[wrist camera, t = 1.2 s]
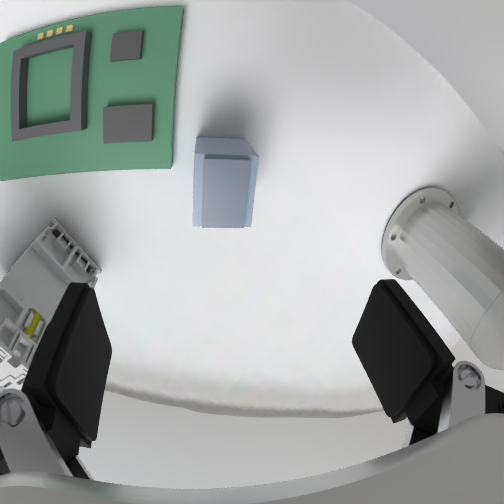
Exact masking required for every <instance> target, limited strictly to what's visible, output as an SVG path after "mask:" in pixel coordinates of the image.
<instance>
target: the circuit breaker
mask: <svg viewBox="0 0 504 504" xmlns="http://www.w3.org/2000/svg"><path fill="white" fill-rule="evenodd" d="M52 223H53V224H54V225H53V226H52V227H50V226H47V227H46V228H45V229H44V230H43V231H42V232H41V234H40V235H39V236H38V237H37V238H36V239H35V240H34V241H33V242H32V243H31V245H30V246H29V247H28V248H27V249H26V250H25V251H24V253H23V254H22V255H21V256H20V257H19V258H18V260H17V261H16V262H15V264H14V265H13V266H12V267H11V269H10V270H9V271H8V273H7V274H6V276H5V277H4V278H3V279H2V281H1V282H0V392H1V391H3V390H5V389H9V388H15V389H18V390H20V391H21V388H22V385H23V383H24V380H25V377H26V374H27V372H28V369H29V366H30V364H31V361H32V359H33V356H34V354H35V352H36V349H37V347H38V344H39V342H40V340H41V338H42V335H43V333H44V331H45V329H46V327H47V325H48V323H50V321H51V319H52V317H53V315H54V313H55V311H56V309H57V307H58V305H59V303H60V301H61V299H62V297H63V295H64V293H65V291H66V289H67V287H68V285H69V284H70V283H71V282H79V283H88V285H89V287H90V288H93V289H94V287H95V285H96V282H97V280H98V278H97V277H96V274H97V273H98V274H99V273H100V272H101V269H100V268H99V267H98V266H97V265H96V264H95V263H94V262H93V261H92V259H91V258H90V257H89V256H88V255H87V254H86V253H85V252H84V251H83V250H82V249H81V247H80V246H79V245H78V244H77V243H76V242H75V241H74V240H73V238H72V237H71V236H70V235H69V234H68V233H67V232H66V230H65V229H64V228H63V227H62V226H61V224H60V223H59V222H58V221H57V220H56V218H55V219H54V220H53V221H52ZM56 229H58V230H59V231H60V232H61V233H60V235H59V236H58V237H57V238H56V237H55V236H54V235H53V233H52V232H53V231H54V230H56ZM63 235H64V236H65V237H66V238H67V240H68V241H69V243H68V242H67V241H66V240H65V239H64V238H63V237H62V236H63ZM70 244H71V245H72V246H73V248H71V247H70V246H69V245H70ZM76 251H77V252H78V253H79V254H78V255H77V254H76V253H75V252H76ZM81 256H83V257H84V258H85V260H86V261H87V263H86V262H85V261H84V260H83V259H82V258H81ZM89 265H90V266H91V267H92V268H91V269H90V270H89V271H88V272H87V271H86V269H87V268H88V266H89Z"/></svg>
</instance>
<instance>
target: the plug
mask: <svg viewBox="0 0 504 504" xmlns="http://www.w3.org/2000/svg"><path fill="white" fill-rule="evenodd" d="M258 157H259V156H258V155H257V154H256V152H255V151H254V150H253V149H252V148H251V147H250V145H249V144H248V143H247V142H246V141H245V140H244V139H238V138H216V137H197V138H196V146H195V156H194V185H193V226H202V228H244V227H251V222H252V213H253V203H254V194H255V185H256V175H257V166H258Z"/></svg>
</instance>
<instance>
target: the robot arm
mask: <svg viewBox="0 0 504 504" xmlns="http://www.w3.org/2000/svg"><path fill="white" fill-rule="evenodd" d="M382 257H383V261H384V264H385V266H386V267H387V269H388V270H389V271H390V273H391V274H392V275H393V276H395V277H397V278H399V279H402V280H413V279H414V281H415V282H416V283H417V284H418V285H419V286H420V287H421V288H422V290H423V291H424V292H425V293H426V294H427V295H428V296H429V298H430V299H431V300H432V301H433V302H434V304H435V305H436V306H437V307H438V308H439V310H440V311H441V312H442V313H443V314H444V316H445V317H446V318H447V319H448V320H449V322H450V323H451V324H452V325H453V327H454V328H455V329H456V331H457V332H458V333H459V334H460V336H461V337H462V338H463V340H464V341H465V342H466V343H467V344H468V346H469V347H470V348H471V350H472V351H473V352H474V354H475V355H476V356H477V358H478V359H479V360H480V361H481V362H482V363H483V364H485V365H486V366H488V367H490V368H493V369H498V370H504V249H503V248H502V247H500V246H499V245H498V244H497V243H495V242H494V241H493V240H492V239H490V238H489V237H488V236H486V235H485V234H484V233H482V232H481V231H480V230H478V229H477V228H476V227H474V226H473V225H472V224H470V223H469V222H468V221H466V220H465V219H463V218H462V217H461V216H459V210H458V206H457V204H456V201H455V200H454V199H453V197H452V196H451V195H449V194H448V193H447V192H445V191H443V190H441V189H439V188H425V189H422V190H419V191H417V192H416V193H414V194H412V195H411V196H409V197H408V198H407V199H406V200H405V201H404V202H403V203H402V204H401V205H400V206H399V207H398V208H397V210H396V211H395V213H394V214H393V215H392V217H391V219H390V221H389V223H388V225H387V227H386V230H385V233H384V236H383V241H382ZM352 344H353V347H354V349H355V351H356V353H357V355H358V357H359V359H360V361H361V363H362V365H363V367H364V369H365V371H366V373H367V375H368V377H369V379H370V381H371V383H372V385H373V387H374V389H375V392H376V394H377V396H378V398H379V400H380V402H381V404H382V406H383V408H384V411H385V413H386V414H387V416H388V417H391V419H392V421H393V423H396V422H399V421H402V420H404V419H406V417H408V419H409V425H408V429H407V433H406V436H405V440H404V443H403V447H402V449H400V450H398V451H395V452H392V453H389V454H387V455H384V456H381V457H378V458H375V459H372V460H369V461H367V462H363V463H360V464H357V465H353V466H350V467H347V468H343V469H339V470H336V471H332V472H327V473H323V474H319V475H315V476H310V477H305V478H300V479H295V480H289V481H283V482H277V483H270V484H263V485H254V486H245V487H232V488H214V489H169V488H153V487H139V486H130V485H121V484H113V483H105V482H100V481H94V479H93V478H92V476H91V475H90V473H89V472H88V471H87V469H86V468H85V466H84V465H83V463H82V462H81V460H80V459H79V457H78V453H79V446H82V447H87V448H91V443H92V441H95V440H96V438H97V432H98V425H99V418H100V412H101V406H102V400H103V394H104V389H105V384H106V379H107V374H108V369H109V365H110V360H111V355H112V347H111V343H110V340H109V337H108V334H107V331H106V328H105V325H104V322H103V319H102V315H101V312H100V308H99V305H98V301H97V298H96V294H95V291H94V289H93V288H90V287H89V285H88V283H79V282H71V283H70V284H69V285H68V287H67V289H66V291H65V293H64V295H63V297H62V299H61V301H60V303H59V305H58V307H57V309H56V311H55V313H54V315H53V317H52V319H51V321H50V323H48V325H47V327H46V329H45V331H44V333H43V335H42V338H41V340H40V342H39V344H38V347H37V349H36V352H35V354H34V356H33V359H32V361H31V364H30V366H29V369H28V372H27V374H26V377H25V380H24V383H23V385H22V388H21V391H20V390H18V389H15V388H9V389H5V390H3V391H1V392H0V504H504V393H503V392H500V391H498V390H495V389H493V388H491V387H489V386H486V385H485V381H484V376H483V374H482V372H481V371H480V369H479V368H478V367H477V366H476V365H474V364H472V363H471V362H468V361H460V362H458V363H457V364H456V365H455V366H454V367H453V366H452V363H453V362H454V360H455V357H454V356H453V355H452V353H451V352H450V350H449V349H448V347H447V346H446V344H445V343H444V342H443V340H442V339H441V338H440V336H439V335H438V333H437V332H436V331H435V329H434V328H433V327H432V325H431V324H430V323H429V321H428V320H427V319H426V317H425V316H424V315H423V314H422V312H421V311H420V310H419V308H418V307H417V306H416V305H415V303H414V302H413V301H412V300H411V298H410V297H409V296H408V295H407V293H406V292H405V291H404V290H403V288H402V287H401V286H400V285H399V284H398V282H397V281H396V280H394V279H387V280H379V281H378V282H377V284H375V285H374V287H373V289H372V291H371V294H370V297H369V299H368V302H367V304H366V307H365V309H364V312H363V314H362V316H361V319H360V321H359V324H358V326H357V328H356V331H355V333H354V335H353V338H352Z"/></svg>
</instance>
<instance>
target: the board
mask: <svg viewBox="0 0 504 504" xmlns="http://www.w3.org/2000/svg"><path fill="white" fill-rule="evenodd" d="M183 12H184V9H183V6H166V7H149V8H138V9H129V10H121V11H114V12H107V13H101V14H96V15H90V16H85V17H81V18H76V19H72V20H68V21H64V22H60V23H56V24H53V25H49V26H46V27H43V28H40V29H36V30H33V31H30V32H27V33H25V34H22V35H19V36H16V37H14V38H11V39H9V40H6V41H4V42H1V43H0V181H5V180H12V179H19V178H27V177H36V176H44V175H54V174H65V173H77V172H90V171H107V170H129V169H171V167H172V157H173V125H174V105H175V89H176V76H177V64H178V54H179V44H180V35H181V27H182V19H183Z"/></svg>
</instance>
